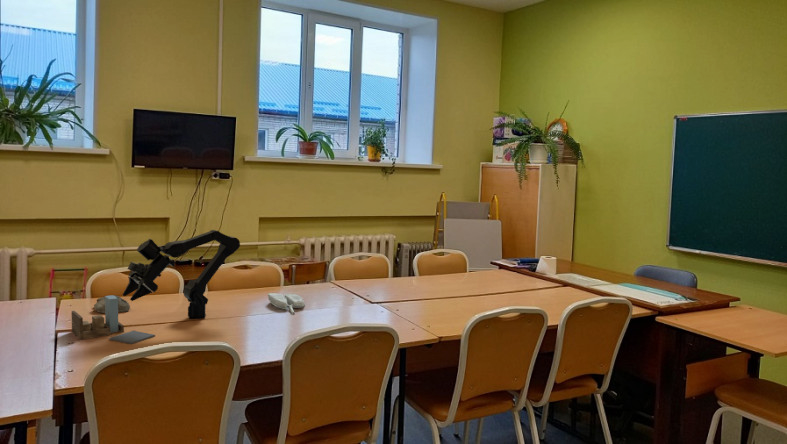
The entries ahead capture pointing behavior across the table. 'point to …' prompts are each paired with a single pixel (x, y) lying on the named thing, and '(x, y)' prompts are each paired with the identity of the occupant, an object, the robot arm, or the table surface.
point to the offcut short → (86, 326)
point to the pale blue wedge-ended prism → (111, 312)
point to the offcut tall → (98, 322)
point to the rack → (78, 328)
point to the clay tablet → (122, 305)
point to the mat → (132, 337)
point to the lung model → (286, 301)
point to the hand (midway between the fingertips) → (127, 297)
